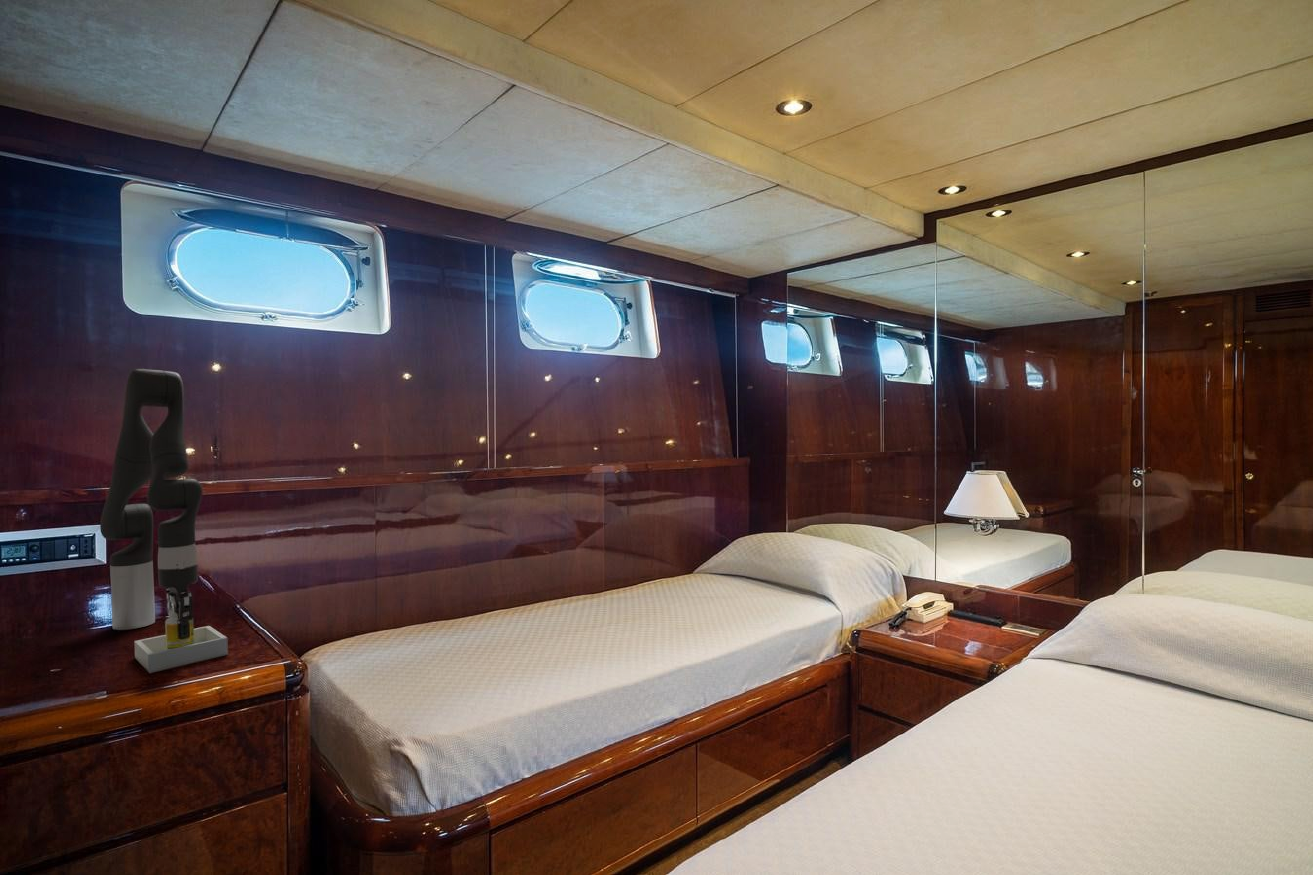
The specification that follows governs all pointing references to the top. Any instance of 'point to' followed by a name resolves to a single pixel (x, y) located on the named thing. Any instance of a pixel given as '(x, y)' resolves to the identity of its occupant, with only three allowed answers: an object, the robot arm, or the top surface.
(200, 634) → the box
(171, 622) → the supplement bottle
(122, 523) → the robot arm
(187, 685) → the top surface
